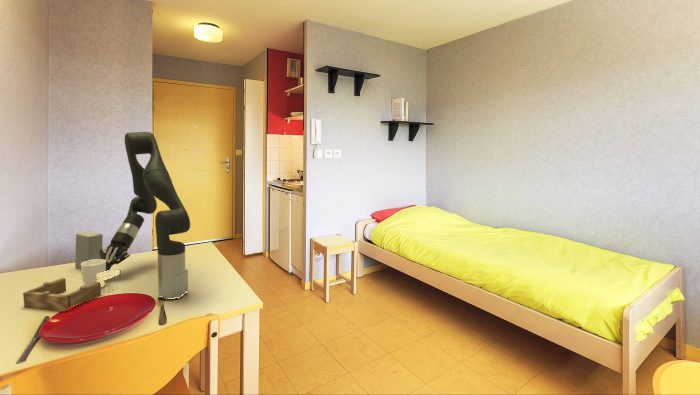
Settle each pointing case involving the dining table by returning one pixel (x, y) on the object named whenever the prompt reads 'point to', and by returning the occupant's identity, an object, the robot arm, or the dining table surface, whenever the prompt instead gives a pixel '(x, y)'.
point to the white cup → (92, 270)
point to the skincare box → (87, 247)
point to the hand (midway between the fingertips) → (103, 272)
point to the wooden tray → (52, 300)
